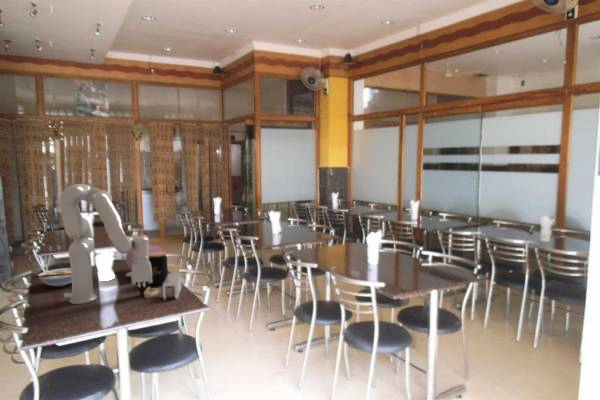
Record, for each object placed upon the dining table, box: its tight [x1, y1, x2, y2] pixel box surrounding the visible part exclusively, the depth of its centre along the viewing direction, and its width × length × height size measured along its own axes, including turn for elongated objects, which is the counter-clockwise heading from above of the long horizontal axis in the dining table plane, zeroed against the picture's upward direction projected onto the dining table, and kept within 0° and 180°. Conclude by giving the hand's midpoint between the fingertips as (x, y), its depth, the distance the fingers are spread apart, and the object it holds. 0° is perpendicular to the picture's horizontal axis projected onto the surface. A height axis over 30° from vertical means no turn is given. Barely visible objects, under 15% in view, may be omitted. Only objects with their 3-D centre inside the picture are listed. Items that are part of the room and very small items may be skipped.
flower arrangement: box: [125, 232, 163, 277], centre depth 266 cm, size 35×24×28 cm
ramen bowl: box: [31, 267, 72, 288], centre depth 245 cm, size 25×23×8 cm
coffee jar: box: [148, 251, 169, 287], centre depth 244 cm, size 11×11×18 cm
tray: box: [143, 286, 175, 299], centre depth 225 cm, size 15×10×3 cm, turn 98°
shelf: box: [162, 272, 183, 300], centre depth 226 cm, size 7×20×8 cm, turn 10°
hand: (142, 293), depth 224 cm, fingers closed
